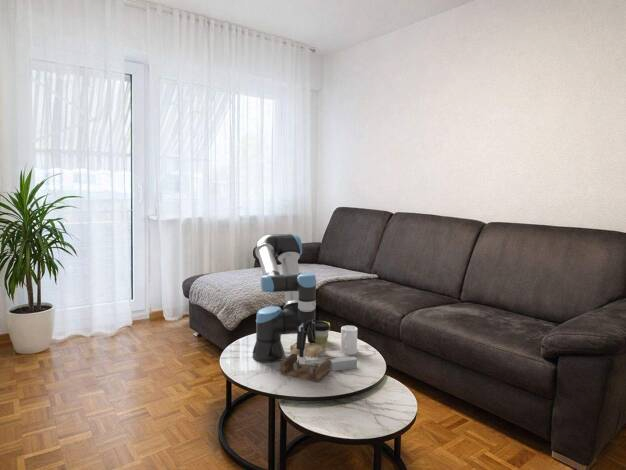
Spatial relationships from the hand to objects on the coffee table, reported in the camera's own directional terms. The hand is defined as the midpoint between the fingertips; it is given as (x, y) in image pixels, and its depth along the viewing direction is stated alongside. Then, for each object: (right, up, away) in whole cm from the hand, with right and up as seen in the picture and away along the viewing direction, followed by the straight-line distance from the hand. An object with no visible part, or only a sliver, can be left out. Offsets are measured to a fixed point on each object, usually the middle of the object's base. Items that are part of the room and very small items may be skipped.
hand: (306, 360), depth 185 cm
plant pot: (+7, -2, +38) cm, 39 cm away
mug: (+20, -3, +24) cm, 32 cm away
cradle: (0, -6, +1) cm, 6 cm away
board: (0, +3, 0) cm, 3 cm away
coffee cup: (+6, -3, +22) cm, 23 cm away
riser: (+17, -5, +6) cm, 19 cm away
